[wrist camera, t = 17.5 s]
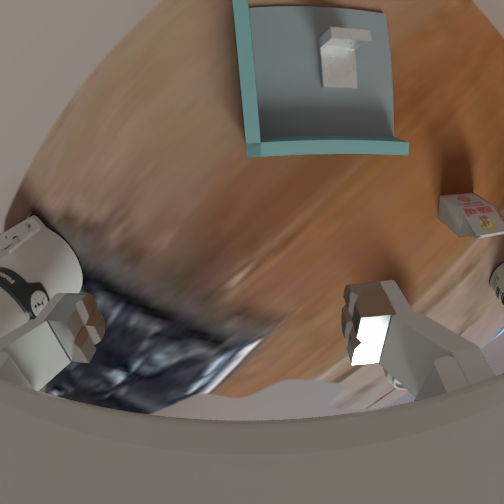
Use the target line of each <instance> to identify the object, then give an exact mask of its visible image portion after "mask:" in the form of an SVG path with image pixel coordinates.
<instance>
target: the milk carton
mask: <svg viewBox="0 0 504 504" xmlns="http://www.w3.org/2000/svg"><path fill="white" fill-rule="evenodd" d="M438 219H439V220H440V221H441V222H442V223H444V224H445V225H446V226H447V227H448V228H449V229H450V230H452V231H453V232H454V233H455V234H456V235H457V236H458V237H464V236H469V237H474V238H483V237H489V236H495V235H500V234H504V219H503V217H502V216H501V214H500V212H499V211H498V209H497V207H496V206H494V205H493V204H491V203H489V202H488V201H486V200H485V199H483V198H482V197H480V196H478V195H477V194H475V193H461V194H449V195H440V201H439V215H438Z"/></svg>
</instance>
